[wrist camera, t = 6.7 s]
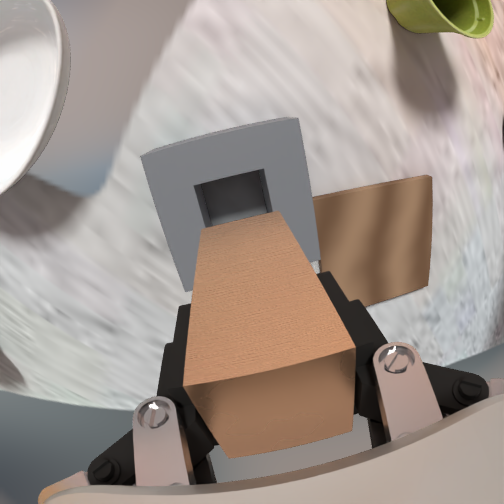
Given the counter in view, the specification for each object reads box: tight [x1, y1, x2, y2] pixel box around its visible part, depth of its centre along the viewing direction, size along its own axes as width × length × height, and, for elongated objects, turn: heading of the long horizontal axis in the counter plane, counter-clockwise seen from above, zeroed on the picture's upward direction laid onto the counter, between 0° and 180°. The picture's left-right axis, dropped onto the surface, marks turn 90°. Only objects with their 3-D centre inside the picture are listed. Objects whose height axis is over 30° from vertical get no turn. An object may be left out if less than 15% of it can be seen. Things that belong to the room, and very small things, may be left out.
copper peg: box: [183, 211, 356, 458], centre depth 12 cm, size 4×4×10 cm
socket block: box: [140, 117, 321, 292], centre depth 26 cm, size 12×12×5 cm
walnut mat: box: [312, 175, 433, 307], centre depth 32 cm, size 14×14×1 cm
